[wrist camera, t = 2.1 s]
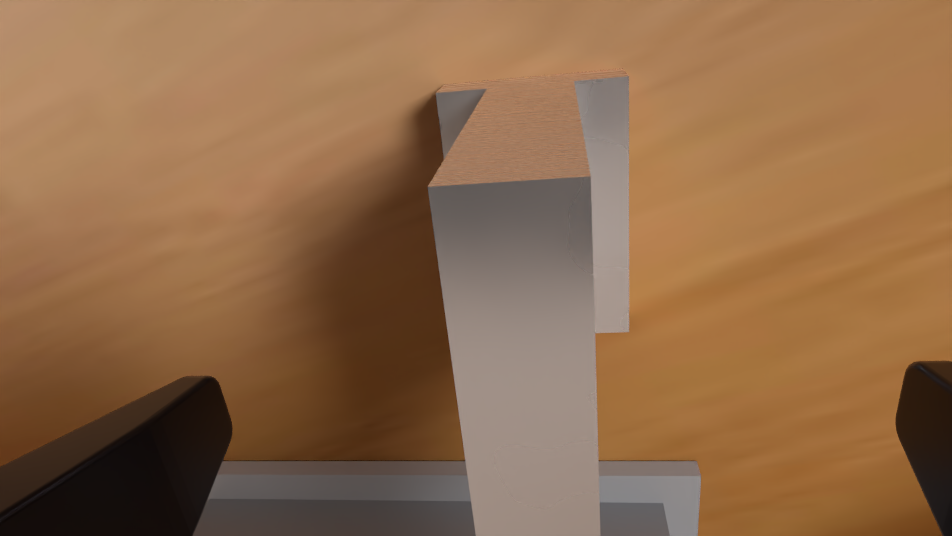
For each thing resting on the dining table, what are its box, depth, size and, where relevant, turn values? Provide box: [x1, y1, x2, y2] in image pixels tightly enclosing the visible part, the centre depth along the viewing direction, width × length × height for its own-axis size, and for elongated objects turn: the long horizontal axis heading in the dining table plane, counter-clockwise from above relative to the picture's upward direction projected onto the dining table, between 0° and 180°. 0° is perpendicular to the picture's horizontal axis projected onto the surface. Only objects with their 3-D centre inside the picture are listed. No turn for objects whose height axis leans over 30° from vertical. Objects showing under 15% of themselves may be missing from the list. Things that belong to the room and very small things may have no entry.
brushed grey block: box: [428, 68, 629, 536], centre depth 12 cm, size 4×6×8 cm, turn 6°
